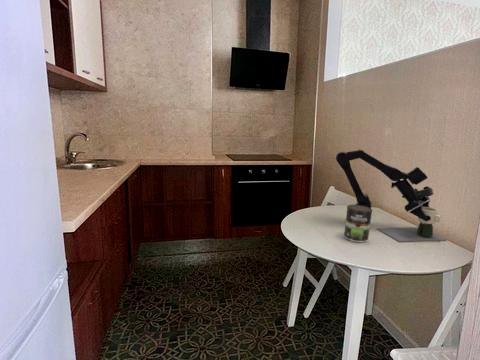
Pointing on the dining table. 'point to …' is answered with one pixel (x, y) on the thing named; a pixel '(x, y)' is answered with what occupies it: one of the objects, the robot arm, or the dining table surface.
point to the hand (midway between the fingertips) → (430, 218)
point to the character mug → (428, 222)
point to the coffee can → (357, 223)
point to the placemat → (408, 235)
